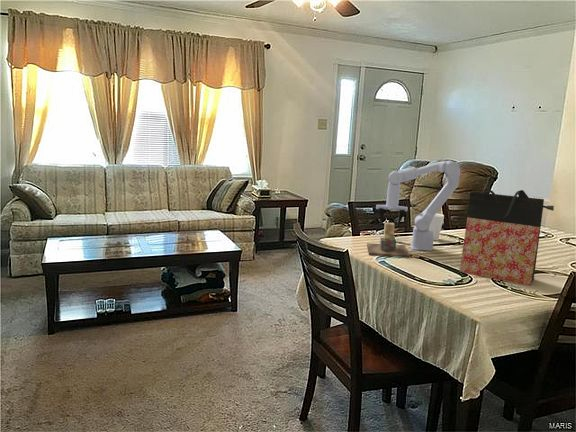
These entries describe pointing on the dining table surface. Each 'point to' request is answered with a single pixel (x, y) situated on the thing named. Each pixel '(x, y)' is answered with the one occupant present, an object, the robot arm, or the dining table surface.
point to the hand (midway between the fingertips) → (390, 224)
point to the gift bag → (502, 236)
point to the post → (388, 231)
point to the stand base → (387, 249)
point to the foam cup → (436, 225)
